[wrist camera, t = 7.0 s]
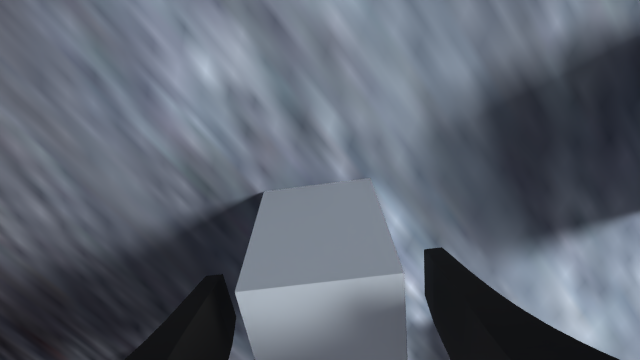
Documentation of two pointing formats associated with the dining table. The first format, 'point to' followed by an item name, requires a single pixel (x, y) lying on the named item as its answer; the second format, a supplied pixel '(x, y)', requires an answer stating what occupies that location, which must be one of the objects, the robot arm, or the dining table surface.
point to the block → (323, 277)
